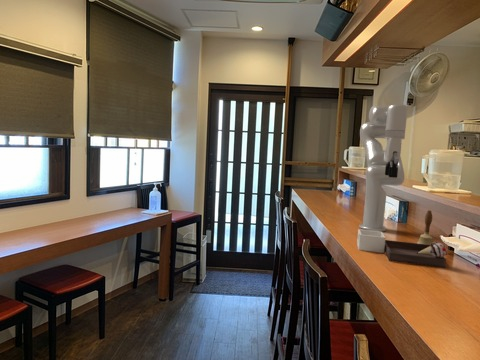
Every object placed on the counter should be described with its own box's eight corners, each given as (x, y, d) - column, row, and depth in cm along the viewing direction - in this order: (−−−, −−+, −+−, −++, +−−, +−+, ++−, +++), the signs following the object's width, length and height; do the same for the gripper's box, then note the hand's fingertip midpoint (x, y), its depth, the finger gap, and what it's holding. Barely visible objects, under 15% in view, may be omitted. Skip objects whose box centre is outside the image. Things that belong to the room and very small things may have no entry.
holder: (356, 243, 143) (358, 229, 142) (380, 246, 141) (382, 231, 140) (358, 249, 134) (360, 234, 134) (383, 252, 132) (385, 237, 131)
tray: (381, 246, 140) (382, 239, 140) (430, 252, 136) (431, 245, 135) (389, 260, 123) (389, 252, 123) (445, 267, 118) (446, 259, 118)
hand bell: (440, 250, 139) (445, 211, 137) (428, 253, 135) (433, 213, 133) (421, 245, 146) (425, 207, 144) (409, 247, 142) (413, 209, 140)
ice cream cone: (406, 251, 131) (434, 247, 116) (415, 242, 132) (444, 237, 118) (417, 263, 130) (446, 261, 116) (425, 254, 132) (456, 250, 118)
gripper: (382, 135, 152) (378, 174, 154) (388, 134, 135) (384, 177, 137) (400, 136, 150) (396, 175, 152) (409, 135, 133) (404, 178, 135)
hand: (390, 176), depth 144 cm, fingers open, 9 cm apart
